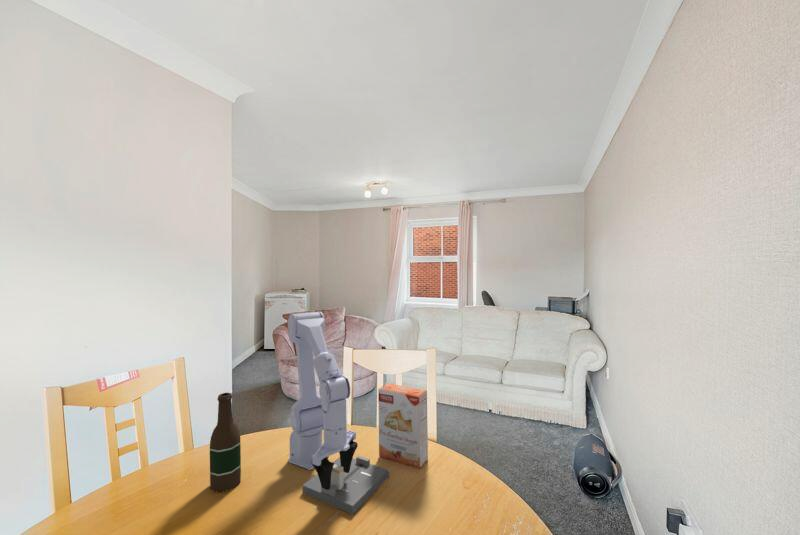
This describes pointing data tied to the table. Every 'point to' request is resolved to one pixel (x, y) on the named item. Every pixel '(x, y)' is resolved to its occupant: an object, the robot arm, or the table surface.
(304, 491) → the console
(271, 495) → the table surface
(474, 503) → the table surface
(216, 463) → the beer bottle
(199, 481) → the table surface
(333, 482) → the fader tab
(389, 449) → the cracker box
